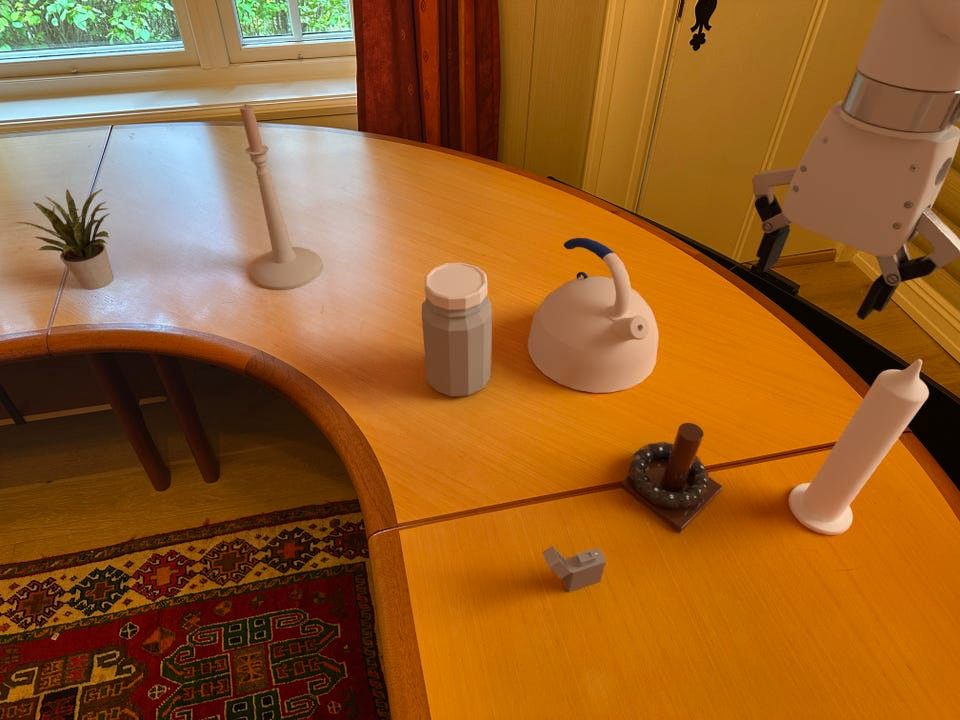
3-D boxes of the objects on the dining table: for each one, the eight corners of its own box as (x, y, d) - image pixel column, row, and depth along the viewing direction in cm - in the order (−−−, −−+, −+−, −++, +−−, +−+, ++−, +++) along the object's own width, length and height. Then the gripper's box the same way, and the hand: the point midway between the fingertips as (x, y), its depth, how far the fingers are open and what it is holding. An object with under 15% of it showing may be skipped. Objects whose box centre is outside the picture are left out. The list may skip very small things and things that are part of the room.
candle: (777, 488, 76) (863, 338, 59) (830, 483, 77) (930, 333, 60) (806, 538, 71) (908, 389, 54) (862, 532, 72) (981, 383, 55)
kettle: (569, 412, 86) (584, 312, 74) (505, 327, 100) (509, 231, 87) (684, 372, 92) (716, 273, 80) (609, 297, 106) (626, 203, 94)
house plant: (159, 257, 115) (125, 176, 104) (132, 300, 105) (91, 216, 94) (82, 258, 114) (40, 177, 103) (47, 303, 104) (-4, 218, 93)
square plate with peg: (721, 491, 76) (747, 434, 69) (679, 533, 72) (703, 477, 64) (661, 449, 81) (680, 391, 74) (619, 486, 77) (634, 429, 69)
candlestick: (336, 268, 112) (305, 103, 92) (276, 298, 105) (228, 127, 85) (297, 243, 119) (259, 83, 98) (238, 270, 112) (185, 104, 91)
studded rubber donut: (721, 481, 76) (725, 471, 75) (677, 526, 71) (680, 516, 70) (657, 437, 81) (660, 427, 80) (612, 476, 76) (615, 466, 75)
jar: (436, 408, 86) (429, 308, 74) (418, 364, 93) (410, 265, 81) (500, 392, 89) (504, 293, 76) (478, 350, 95) (479, 253, 83)
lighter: (594, 567, 68) (604, 528, 63) (601, 581, 67) (612, 543, 62) (536, 586, 67) (541, 548, 61) (542, 601, 65) (548, 563, 60)
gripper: (1052, 121, 42) (928, 314, 54) (812, 62, 52) (750, 237, 63) (1019, 151, 38) (893, 352, 50) (767, 82, 48) (710, 264, 59)
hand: (813, 288), depth 57 cm, fingers open, 9 cm apart
